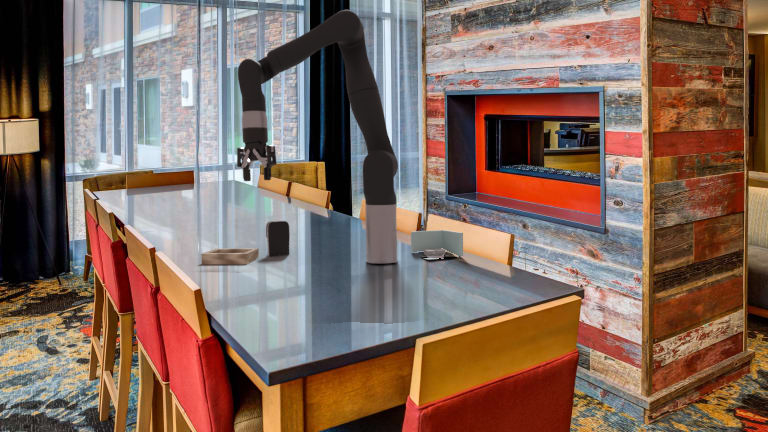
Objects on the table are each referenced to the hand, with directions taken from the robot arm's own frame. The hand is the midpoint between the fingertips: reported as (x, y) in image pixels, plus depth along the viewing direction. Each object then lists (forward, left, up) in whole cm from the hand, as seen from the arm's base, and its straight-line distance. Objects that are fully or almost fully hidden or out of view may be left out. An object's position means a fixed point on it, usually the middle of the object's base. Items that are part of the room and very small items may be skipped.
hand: (257, 180), depth 188 cm
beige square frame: (+7, +5, -24) cm, 25 cm away
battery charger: (-5, -5, -24) cm, 25 cm away
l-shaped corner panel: (-55, -6, -24) cm, 60 cm away
